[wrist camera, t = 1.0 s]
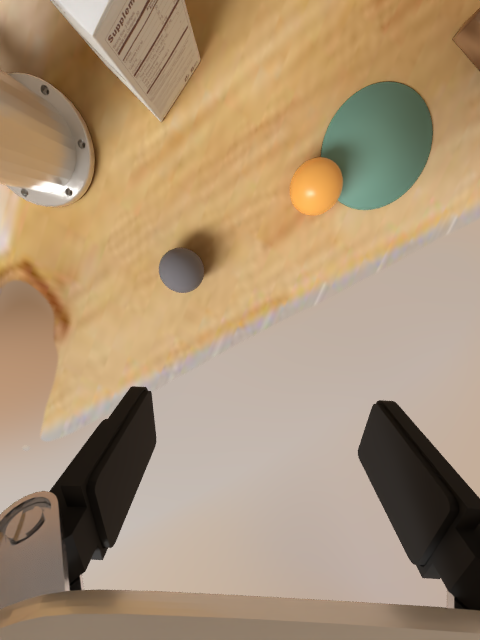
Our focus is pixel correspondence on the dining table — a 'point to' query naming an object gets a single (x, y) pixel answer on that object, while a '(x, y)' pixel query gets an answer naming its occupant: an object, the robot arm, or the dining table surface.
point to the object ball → (316, 186)
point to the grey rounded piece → (181, 270)
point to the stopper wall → (470, 38)
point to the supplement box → (139, 44)
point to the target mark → (379, 144)
